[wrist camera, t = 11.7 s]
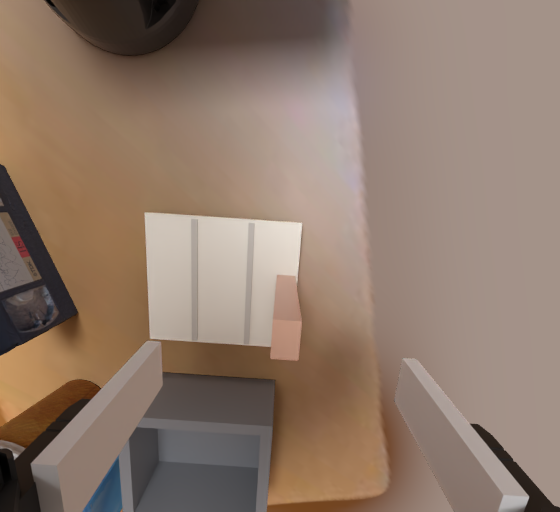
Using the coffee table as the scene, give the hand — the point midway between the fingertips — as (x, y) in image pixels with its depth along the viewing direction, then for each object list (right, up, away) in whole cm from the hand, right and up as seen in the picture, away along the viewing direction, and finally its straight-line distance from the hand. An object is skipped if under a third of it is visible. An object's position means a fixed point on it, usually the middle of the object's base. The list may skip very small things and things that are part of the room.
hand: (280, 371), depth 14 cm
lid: (-6, +4, +17) cm, 18 cm away
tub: (-9, -16, +20) cm, 28 cm away
